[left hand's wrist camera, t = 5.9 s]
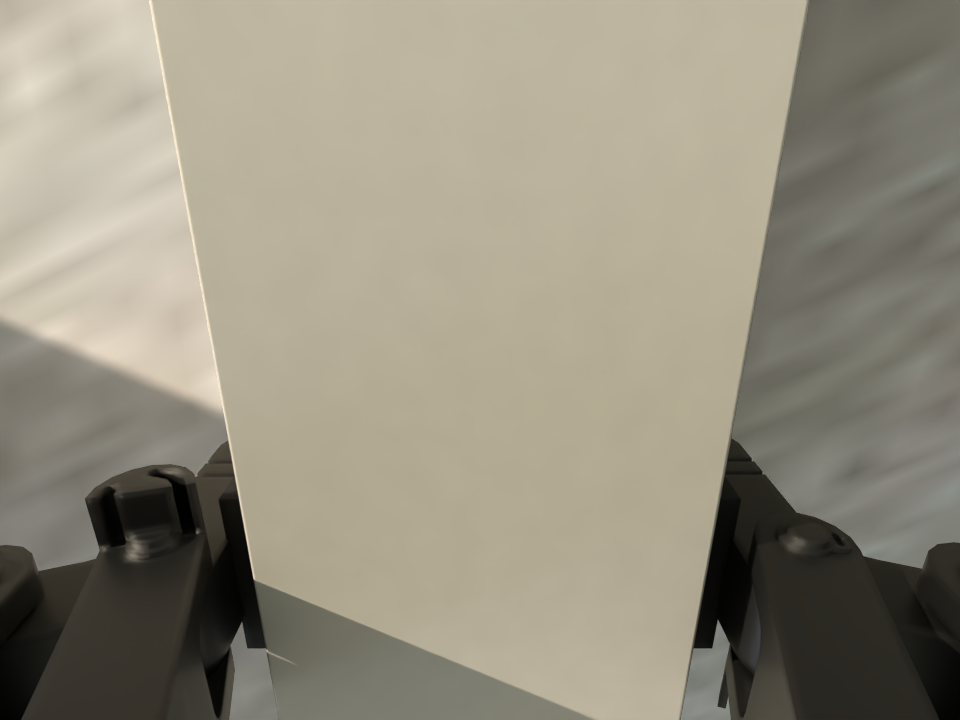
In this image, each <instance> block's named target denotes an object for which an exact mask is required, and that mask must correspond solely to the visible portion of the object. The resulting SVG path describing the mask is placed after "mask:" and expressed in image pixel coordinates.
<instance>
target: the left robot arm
mask: <svg viewBox="0 0 960 720" xmlns="http://www.w3.org/2000/svg"><path fill="white" fill-rule="evenodd" d="M85 501H86V504H87V508H88V511H89V515H90V518H91V521H92V525H93V528H94V531H95V535H96V538H97V542H98V545H99V548H100V552H99V554H98V556H97V558H96V559H94V560H90V561H86V562H82V563H77V564H72V565H67V566H62V567H57V568H52V569H48V570H43V571H38V570H37V567H36V564H35V561H34V558H33V555H32V553H30V552H29V551H28V550H26V549H25V548H23V547H19V546H10V545H3V546H0V720H229V716H230V707H231V698H232V689H233V681H234V672H235V668H234V662H233V656H232V651H231V647H230V645H231V643H232V641H233V639H234V637H235V635H236V633H237V631H238V628H239V626H240V624H241V622H242V623H243V628H244V633H245V638H246V643H247V648H266V645H265V640H264V634H263V629H262V623H261V618H260V612H259V606H258V601H257V595H256V590H255V584H254V579H253V573H252V568H251V562H250V557H249V551H248V546H247V540H246V534H245V529H244V523H243V518H242V512H241V507H240V501H239V496H238V490H237V485H236V479H235V474H234V468H233V463H232V457H231V451H230V446H229V441H227V442H225V443H224V444H222V445H221V446H220V447H219V448H218V450H217V451H216V452H215V453H214V454H213V456H212V457H211V458H210V459H209V461H208V464H205V465H204V467H203V468H202V469H201V470H200V471H199V473H198V477H195V475H194V473H193V472H191V471H190V470H189V469H187V468H186V467H182V466H177V465H171V464H169V465H151V466H147V467H142V468H138V469H133V470H130V471H127V472H125V473H122V474H120V475H117V476H115V477H112V478H110V479H109V480H107V481H105V482H104V483H102V484H101V485H99V486H97V487H96V488H95V489H94V490H93V491H92V492H91V493H90V494H89V495H88V496H87V497H86V498H85ZM718 620H719V622H720V624H721V626H722V628H723V630H724V632H725V634H726V637H727V639H728V641H729V643H730V647H729V651H728V656H727V661H726V666H725V670H724V675H723V680H722V685H721V689H720V694H719V700H718V707H722V708H726V704H727V699H728V697H729V706H730V714H731V720H960V543H955V542H953V543H945V544H937V545H936V546H935V547H933V548H932V549H930V550H929V551H928V554H927V557H926V560H925V562H924V565H923V568H922V569H920V568H915V567H911V566H906V565H901V564H896V563H891V562H886V561H881V560H876V559H872V558H868V557H864V556H863V555H862V553H861V551H860V549H859V548H858V546H857V545H856V544H855V542H854V541H853V540H852V539H851V537H849V536H848V535H847V534H845V533H844V532H842V531H841V530H840V529H838V528H837V527H835V526H833V525H831V524H829V523H827V522H825V521H822V520H820V519H818V518H816V517H812V516H808V515H804V514H800V513H796V512H795V510H794V509H793V508H792V507H791V506H790V504H789V503H788V502H787V501H786V500H785V498H784V497H783V496H782V495H781V494H780V492H779V491H778V490H777V489H776V487H775V486H774V485H773V484H772V483H771V481H770V480H769V479H768V478H767V477H766V475H762V471H761V469H760V468H759V467H758V466H757V464H756V463H755V462H752V458H751V457H750V456H749V455H748V454H747V452H746V451H745V450H744V449H743V448H742V446H741V445H740V444H739V443H738V442H736V441H735V440H733V439H731V442H730V447H729V453H728V458H727V464H726V470H725V475H724V481H723V486H722V492H721V497H720V503H719V508H718V514H717V519H716V525H715V531H714V536H713V542H712V547H711V553H710V558H709V564H708V569H707V575H706V581H705V586H704V592H703V597H702V603H701V608H700V614H699V619H698V625H697V631H696V636H695V642H694V647H693V648H712V646H713V641H714V636H715V631H716V626H717V621H718Z"/></svg>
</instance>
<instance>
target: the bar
mask: <svg viewBox="0 0 960 720" xmlns="http://www.w3.org/2000/svg"><path fill="white" fill-rule="evenodd" d="M149 3H150V9H151V14H152V20H153V25H154V31H155V36H156V42H157V47H158V53H159V58H160V64H161V69H162V75H163V81H164V86H165V92H166V97H167V103H168V108H169V114H170V119H171V125H172V130H173V136H174V141H175V147H176V153H177V158H178V164H179V169H180V175H181V180H182V186H183V191H184V197H185V202H186V208H187V213H188V219H189V224H190V230H191V236H192V241H193V247H194V252H195V258H196V263H197V269H198V274H199V280H200V285H201V291H202V296H203V302H204V308H205V313H206V319H207V324H208V330H209V335H210V341H211V346H212V352H213V357H214V363H215V368H216V374H217V379H218V385H219V391H220V396H221V402H222V407H223V413H224V418H225V424H226V429H227V435H228V440H229V446H230V451H231V457H232V463H233V468H234V474H235V479H236V485H237V490H238V496H239V501H240V507H241V512H242V518H243V523H244V529H245V534H246V540H247V546H248V551H249V557H250V562H251V568H252V573H253V579H254V584H255V590H256V595H257V601H258V606H259V612H260V618H261V623H262V629H263V634H264V640H265V645H266V651H267V656H268V662H269V667H270V673H271V678H272V684H273V689H274V695H275V701H276V706H277V712H278V717H279V720H680V719H681V714H682V708H683V703H684V697H685V692H686V686H687V681H688V675H689V669H690V664H691V658H692V653H693V647H694V642H695V636H696V631H697V625H698V619H699V614H700V608H701V603H702V597H703V592H704V586H705V581H706V575H707V569H708V564H709V558H710V553H711V547H712V542H713V536H714V531H715V525H716V519H717V514H718V508H719V503H720V497H721V492H722V486H723V481H724V475H725V470H726V464H727V458H728V453H729V447H730V442H731V436H732V431H733V425H734V420H735V414H736V408H737V403H738V397H739V392H740V386H741V381H742V375H743V370H744V364H745V358H746V353H747V347H748V342H749V336H750V331H751V325H752V320H753V314H754V308H755V303H756V297H757V292H758V286H759V281H760V275H761V270H762V264H763V258H764V253H765V247H766V242H767V236H768V231H769V225H770V220H771V214H772V208H773V203H774V197H775V192H776V186H777V181H778V175H779V170H780V164H781V158H782V153H783V147H784V142H785V136H786V131H787V125H788V120H789V114H790V109H791V103H792V97H793V92H794V86H795V81H796V75H797V70H798V64H799V59H800V53H801V47H802V42H803V36H804V31H805V25H806V20H807V14H808V9H809V3H810V0H149Z"/></svg>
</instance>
